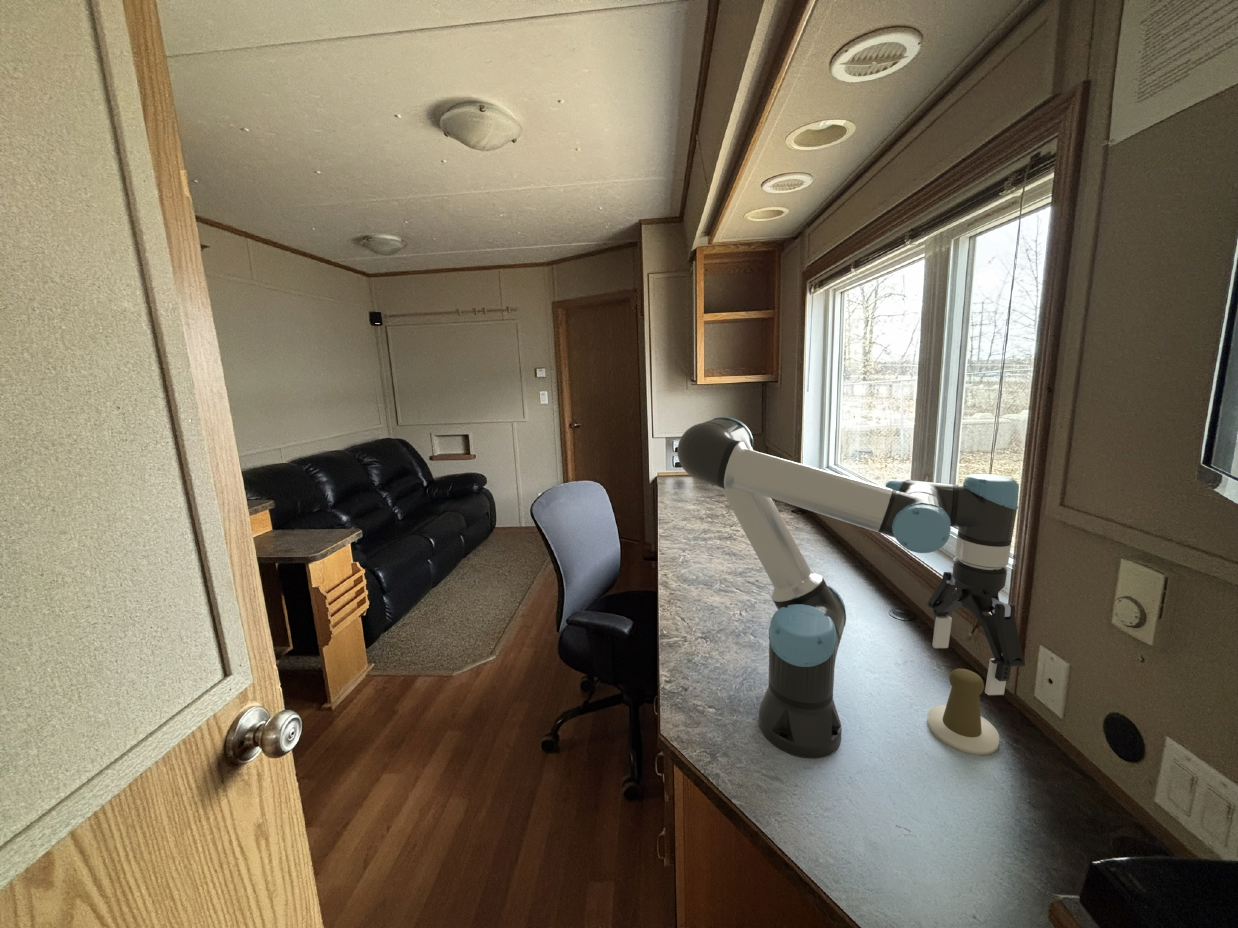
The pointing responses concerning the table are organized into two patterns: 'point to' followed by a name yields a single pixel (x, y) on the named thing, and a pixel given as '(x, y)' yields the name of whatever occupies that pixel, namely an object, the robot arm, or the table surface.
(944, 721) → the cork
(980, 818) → the table surface
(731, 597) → the table surface
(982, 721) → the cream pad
